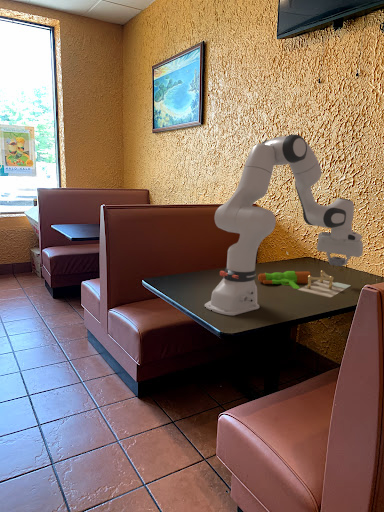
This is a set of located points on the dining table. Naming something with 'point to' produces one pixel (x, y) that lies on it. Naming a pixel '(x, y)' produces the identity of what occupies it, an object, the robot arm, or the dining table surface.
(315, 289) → the board
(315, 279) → the rope post barrier
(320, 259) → the dining table surface
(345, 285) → the pad
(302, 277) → the toy
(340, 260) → the grey square box
